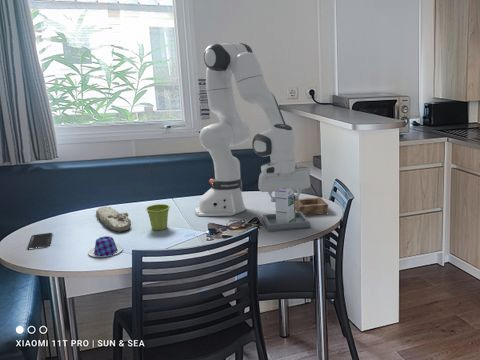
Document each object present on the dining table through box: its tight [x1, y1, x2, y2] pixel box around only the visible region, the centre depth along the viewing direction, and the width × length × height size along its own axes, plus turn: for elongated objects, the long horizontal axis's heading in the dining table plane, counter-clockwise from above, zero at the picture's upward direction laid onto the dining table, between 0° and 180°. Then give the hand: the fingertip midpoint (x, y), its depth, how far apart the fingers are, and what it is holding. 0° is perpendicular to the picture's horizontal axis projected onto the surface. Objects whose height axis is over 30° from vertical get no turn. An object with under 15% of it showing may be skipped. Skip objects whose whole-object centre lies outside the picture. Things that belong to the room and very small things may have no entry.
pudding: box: [88, 235, 124, 258], centre depth 173 cm, size 12×12×5 cm
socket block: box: [295, 196, 329, 216], centre depth 209 cm, size 12×12×4 cm
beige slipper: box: [95, 206, 132, 232], centre depth 208 cm, size 35×5×10 cm
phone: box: [27, 232, 54, 249], centre depth 187 cm, size 8×1×15 cm
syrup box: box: [274, 188, 296, 224], centre depth 192 cm, size 6×6×14 cm
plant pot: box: [145, 203, 171, 231], centre depth 195 cm, size 9×9×9 cm
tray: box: [262, 211, 311, 232], centre depth 193 cm, size 16×14×2 cm
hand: (284, 200), depth 191 cm, fingers closed on syrup box, 8 cm apart
